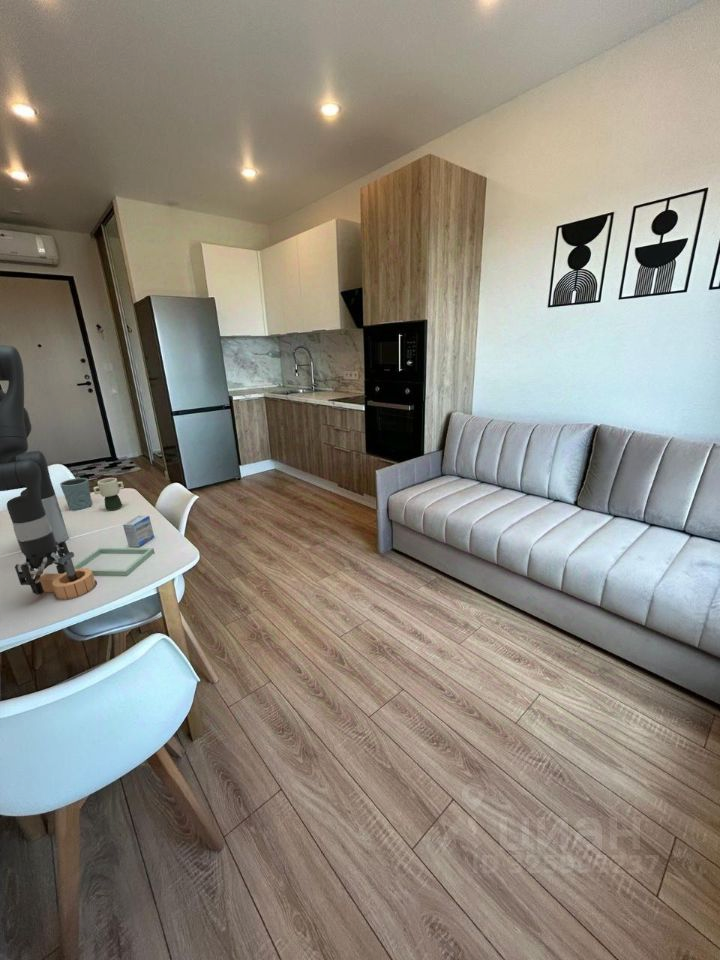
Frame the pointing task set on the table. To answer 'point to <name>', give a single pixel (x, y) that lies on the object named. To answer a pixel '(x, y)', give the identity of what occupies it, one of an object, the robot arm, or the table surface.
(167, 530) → the table surface
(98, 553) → the green rhombus frame
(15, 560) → the table surface
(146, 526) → the medicine box
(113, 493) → the character mug
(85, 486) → the teal pot
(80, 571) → the ring
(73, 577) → the metal post stand
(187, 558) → the table surface
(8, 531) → the table surface
